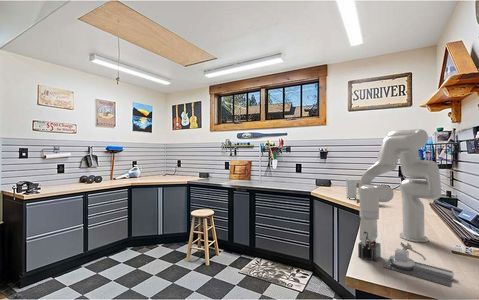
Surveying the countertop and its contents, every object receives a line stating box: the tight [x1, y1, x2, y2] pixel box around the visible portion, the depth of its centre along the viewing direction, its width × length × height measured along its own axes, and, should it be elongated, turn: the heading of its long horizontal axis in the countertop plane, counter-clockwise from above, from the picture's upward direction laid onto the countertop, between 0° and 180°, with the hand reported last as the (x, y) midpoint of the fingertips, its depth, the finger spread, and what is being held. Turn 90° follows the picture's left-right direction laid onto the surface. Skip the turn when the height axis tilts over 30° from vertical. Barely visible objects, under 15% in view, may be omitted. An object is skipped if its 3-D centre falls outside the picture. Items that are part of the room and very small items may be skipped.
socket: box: [357, 240, 382, 263], centre depth 105 cm, size 7×7×6 cm
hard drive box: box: [345, 178, 361, 199], centre depth 243 cm, size 16×8×20 cm, turn 82°
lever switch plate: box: [383, 248, 454, 288], centre depth 93 cm, size 14×20×6 cm
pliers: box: [400, 241, 426, 261], centre depth 113 cm, size 10×1×20 cm
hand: (369, 254), depth 105 cm, fingers closed on socket, 7 cm apart
